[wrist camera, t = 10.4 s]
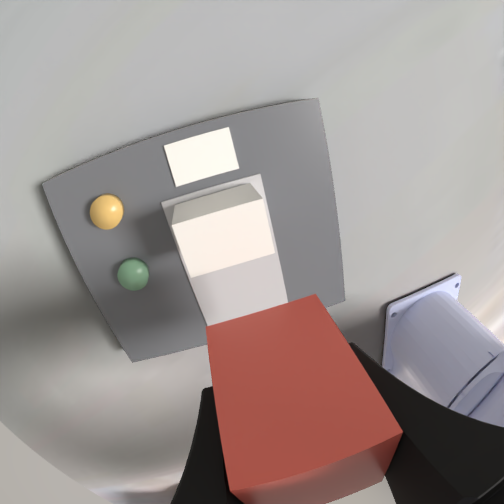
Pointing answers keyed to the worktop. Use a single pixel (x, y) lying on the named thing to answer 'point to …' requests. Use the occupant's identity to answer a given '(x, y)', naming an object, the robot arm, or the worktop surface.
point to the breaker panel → (188, 188)
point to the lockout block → (296, 408)
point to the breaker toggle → (222, 229)
